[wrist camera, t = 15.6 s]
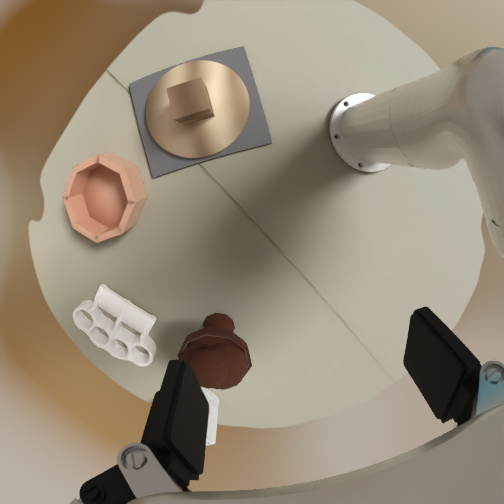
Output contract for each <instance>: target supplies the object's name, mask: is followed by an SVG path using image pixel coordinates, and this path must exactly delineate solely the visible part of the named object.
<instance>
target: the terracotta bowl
mask: <svg viewBox="0 0 504 504" xmlns="http://www.w3.org/2000/svg"><path fill="white" fill-rule="evenodd" d="M146 199H147V194H146V191H145V188H144V185H143V181H142V178H141V175H140V171H139V168H138V166H136V165H134V164H132V163H130V162H128V161H126V160H124V159H122V158H120V157H118V156H116V155H114V154H98V155H96V156H94V157H92V158H90V159H88V160H86V161H84V162H83V163H81V164H79V165H77V166H75V167H73V169H72V171H71V174H70V177H69V180H68V183H67V186H66V189H65V193H64V196H63V200H64V203H65V206H66V209H67V213H68V216H69V219H70V222H71V225H72V227H73V228H74V229H75V230H77V231H78V232H80V233H81V234H83V235H85V236H86V237H88V238H89V239H91V240H93V241H94V242H96V243H98V242H101V241H103V240H106V239H109V238H112V237H115V236H117V235H120V234H123V233H124V232H126V231H127V230H129V229H130V228H132V227H133V226H135V224H136V222H137V220H138V217H139V215H140V213H141V210H142V208H143V206H144V204H145V201H146Z"/></svg>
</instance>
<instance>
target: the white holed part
mask: <svg viewBox="0 0 504 504" xmlns="http://www.w3.org/2000/svg"><path fill="white" fill-rule="evenodd" d="M100 308H102V309H103V310H105V311H106V312H108V313H109V314H111V315H112V316H114V317H115V318H117V320H116V322H114V321H112V320H111V319H109V318H107V317H106V316H104V315H103V314H102V312H101V309H100ZM82 310H84V311H86V312H88V313H89V314H90V315H91V317H92V319H93V321H92V320H89V319H87V318H86V317H85V316H84V314H83V312H82ZM156 319H157V318H156V317H155V316H154V315H150V314H149V313H147V312H145V311H144V310H142V309H141V308H139V307H137V306H136V305H134V304H133V303H131V301H129V300H126V299H125V298H123V297H122V296H120V295H119V294H117V293H116V292H114V291H112V290H111V289H109V288H108V287H107V286H106V285H105V284H102V285H101V286H100V287H99V289H98V291H97V293H96V295H95V298H94V302H93V301H90V300H85V301H82V302H81V303H80V304H79V306H78V307H77V308H76V309H75V310H74V312H73V320H74V323H75V325H76V326H77V327H78V328H79V329H81V330H82V331H84V332H85V333H86V334H87V335H88V336H89V338H90V339H91V341H92V342H93V343H94V344H95V345H96V346H97V347H99V348H102V349H104V350H106V351H107V352H109V353H110V354H111V355H112V356H113V357H116V358H118V359H125V360H129V361H131V362H133V363H135V364H136V365H137V366H148V365H149V364H151V362H152V361H153V358H154V356H155V353H156V345H155V343H154V341H153V340H152V339H151V338H150V337H149V332H150V330H151V328H152V326H153V325H154V323H155V321H156ZM122 322H123V323H125V324H127V325H128V326H130V327H131V328H133V329H135V330H136V331H138V332H140V333H142V334H137V335H135V334H133V333H131V332H130V331H128V330H126V329H125V328H123V327H122V325H121V324H122ZM97 327H99V328H102V329H103V330H105V331H106V333H107V334H108V336H104V335H102V334H101V333H100V332H99V331H98V329H97ZM116 339H118V340H121V341H122V342H124V343H125V344H126V346H127V347H128V348H123V347H121V346H120V345H119V344H118V343H117V341H116ZM136 346H141V347H143V348H145V349H146V350H147V351H148V352H149V354H143V353H141V352H140V351H138V350H137V348H136Z"/></svg>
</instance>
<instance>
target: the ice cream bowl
mask: <svg viewBox="0 0 504 504" xmlns="http://www.w3.org/2000/svg"><path fill="white" fill-rule="evenodd" d="M203 325H204V328H203V329H200V330H198V331H195V332H193V333H191V334H190V335H188V336H187V338H186V339H185V341H184V343H183V345H182V347H181V349H180V351H179V353H178V358H179V360H180V359H184V360H185V362H189V363H190V365H191V367H192V369H193V372H194V374H195V376H196V378H197V380H198V382H199V384H200V386H201V387H204V388H207V389H208V388H215V389H228V388H231V387H233V386H236V385H238V383H239V382H241V381H242V378H243V377H244V376H245V374H246V373H247V372H248V370H249V369H250V368H251V366H252V364H251V359H250V355H249V350H248V347H247V344H246V343H245V341H244V340H243V339H241V338H240V337H239V336H237V335H236V334H235V333H233V330H234V328H235V327H234V323H233V320H232V319H231V318H229V317H228V316H227V315H226V314H219V313H214V314H212V315H210V316H207V318H206V319H205V321H204V323H203Z"/></svg>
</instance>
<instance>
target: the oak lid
mask: <svg viewBox="0 0 504 504" xmlns="http://www.w3.org/2000/svg"><path fill="white" fill-rule="evenodd" d="M249 107H250V103H249V95H248V91H247V89H246V86H245V84H244V83H243V81H242V80H241V78H240V77H239V76H238V75H237V74H236V73H235V72H234V71H233V70H231V69H230V68H228V67H227V66H225V65H223V64H220V63H217V62H213V61H206V60H197V61H191V62H187V63H183V64H181V65H178V66H176V67H174V68H173V69H171V70H170V71H168V72H167V73H166V74H164V75H163V76H162V77H161V78H160V79H159V80H158V81H157V83H156V84H155V86H154V87H153V89H152V91H151V93H150V95H149V97H148V101H147V105H146V121H147V126H148V129H149V131H150V133H151V135H152V137H153V138H154V140H155V141H156V142H157V143H158V144H159V145H160V146H161V147H162V148H164V149H165V150H167V151H168V152H170V153H172V154H175V155H178V156H181V157H187V158H199V157H206V156H210V155H213V154H215V153H218V152H220V151H222V150H223V149H225V148H226V147H228V146H229V145H230V144H231V143H233V142H234V141H235V140H236V139H237V137H238V136H239V135H240V133H241V132H242V130H243V129H244V127H245V125H246V122H247V119H248V115H249Z"/></svg>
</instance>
